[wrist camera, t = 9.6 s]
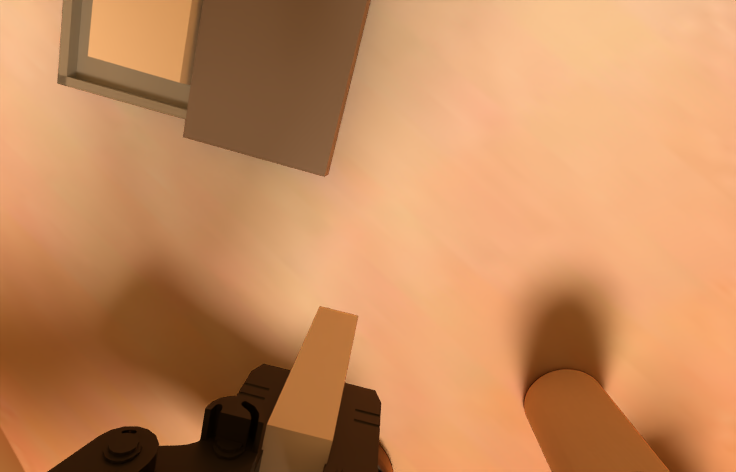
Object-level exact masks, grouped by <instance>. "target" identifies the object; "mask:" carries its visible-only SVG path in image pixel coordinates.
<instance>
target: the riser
mask: <svg viewBox="0 0 736 472" xmlns="http://www.w3.org/2000/svg"><path fill="white" fill-rule="evenodd" d="M370 1H371V0H203V6H202V12H201V19H200V26H199V33H198V39H197V46H196V53H195V60H194V66H193V73H192V80H191V86H190V93H189V100H188V107H187V113H186V120H185V127H184V134H183V137H185V138H188V139H192V140H195V141H199V142H202V143H206V144H210V145H213V146H217V147H220V148H224V149H227V150H231V151H235V152H238V153H242V154H245V155H249V156H252V157H256V158H259V159H263V160H267V161H270V162H274V163H277V164H281V165H284V166H288V167H292V168H295V169H299V170H302V171H306V172H309V173H313V174H316V175H320V176H324V177H325V176H327V175H328V173H329V169H330V165H331V161H332V157H333V153H334V149H335V145H336V141H337V136H338V132H339V128H340V124H341V120H342V116H343V112H344V108H345V104H346V100H347V95H348V91H349V87H350V83H351V79H352V75H353V71H354V67H355V63H356V59H357V54H358V50H359V46H360V42H361V38H362V34H363V30H364V26H365V22H366V18H367V14H368V9H369V5H370Z"/></svg>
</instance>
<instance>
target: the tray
mask: <svg viewBox="0 0 736 472" xmlns="http://www.w3.org/2000/svg"><path fill="white" fill-rule="evenodd" d="M92 5H93V0H63V8H62V23H61V38H60V52H59V67H58V82H57V83H58V84H61V85H65V86H68V87H72V88H75V89H79V90H83V91H86V92H90V93H93V94H97V95H100V96H104V97H107V98H111V99H115V100H118V101H122V102H125V103H129V104H132V105H136V106H140V107H143V108H147V109H150V110H154V111H157V112H161V113H164V114H168V115H172V116H175V117H179V118H182V119H186V113H187V107H188V100H189V93H190V86H191V85H187V84H183V83H179V82H175V81H172V80H169V79H165V78H162V77H158V76H155V75H151V74H148V73H144V72H141V71H137V70H134V69H131V68H127V67H124V66H120V65H117V64H113V63H110V62H106V61H103V60H99V59H96V58H93V57H89V56H88V48H89V37H90V26H91V16H92Z"/></svg>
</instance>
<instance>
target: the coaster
mask: <svg viewBox="0 0 736 472" xmlns="http://www.w3.org/2000/svg"><path fill="white" fill-rule="evenodd" d="M202 6H203V0H93V5H92V16H91V26H90V37H89V48H88V56H89V57H93V58H96V59H99V60H103V61H106V62H110V63H113V64H117V65H120V66H124V67H127V68H131V69H134V70H137V71H141V72H144V73H148V74H151V75H155V76H158V77H162V78H165V79H169V80H172V81H175V82H179V83H183V84H187V85H191V80H192V73H193V66H194V60H195V53H196V46H197V39H198V33H199V26H200V19H201V12H202Z"/></svg>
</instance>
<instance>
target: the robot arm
mask: <svg viewBox="0 0 736 472" xmlns="http://www.w3.org/2000/svg"><path fill="white" fill-rule="evenodd" d="M357 320H358V316H357V315H353V314H349V313H345V312H341V311H337V310H333V309H329V308H325V307H321V306H320V307H319V309H318V311H317V314H316V316H315V318H314V320H313V322H312V325H311V327H310V329H309V331H308V334H307V336H306V338H305V340H304V343H303V345H302V347H301V349H300V351H299V354H298V356H297V358H296V360H295V363H294V365H293V367H292V369H291V371H290V370H286V369H282V368H278V367H274V366H270V365H266V364H263V365H261V366H259V367H258V368H256V369H255V370H253V371H251V373H250V375H249V376H248V378H247V380H246V381H245V383H244V384H243V386H242V388H241V389H240V391H239V394H237V396H229V397H222V398H220V399H218V400H215V401H213V402H212V403H211V404H210V405H209V406H207V407H206V408H205V414H204V420H203V426H202V433H201V439H200V441H198V442H195V443H192V444H188V445H178V446H159V443H158V440H157V437H156V435H155V434H153V433H152V432H151V431H150V430H148V429H145V428H141V427H121V428H117V429H113V430H110V431H108V432H106V433H104V434H102V435H100V436H98V437H97V438H96V439H94V440H93V441H91V442H90V443H88V444H87V445H85V446H84V447H83V448H81V449H80V450H78V451H77V452H75V453H74V454H72V455H71V456H70V457H68V458H67V459H65V460H64V461H62V462H61V463H59V464H58V465H57V466H55V467H54V468H52V469H51V470H49V471H48V472H393V469H392V466H391V463H390V460H389V458H388V456H387V454H386V453H385V451H384V450H383V449H382V447H381V446H380V445H379V433H380V428H379V427H380V414H381V402H380V400H379V398H378V395H377V393H376V391H375V390H371V389H367V388H363V387H359V386H355V385H351V384H347V383H345V378H346V374H347V369H348V364H349V359H350V354H351V349H352V344H353V340H354V335H355V330H356V325H357Z"/></svg>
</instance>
